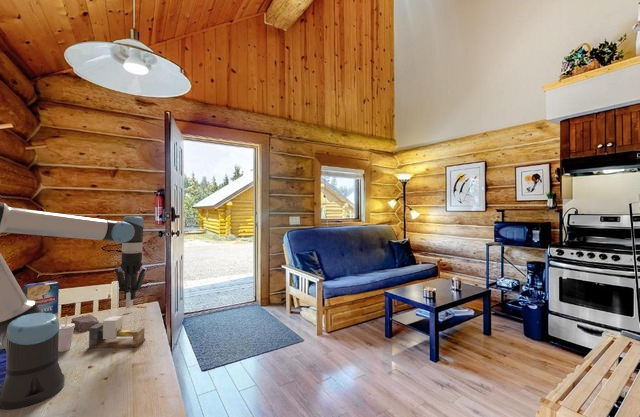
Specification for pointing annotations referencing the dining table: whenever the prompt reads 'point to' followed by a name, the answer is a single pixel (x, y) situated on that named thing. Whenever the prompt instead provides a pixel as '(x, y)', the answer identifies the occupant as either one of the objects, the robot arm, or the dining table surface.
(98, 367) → the dining table surface
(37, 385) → the robot arm
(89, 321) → the stone
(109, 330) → the sleeve
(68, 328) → the smoothie
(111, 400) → the dining table surface
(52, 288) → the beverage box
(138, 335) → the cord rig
